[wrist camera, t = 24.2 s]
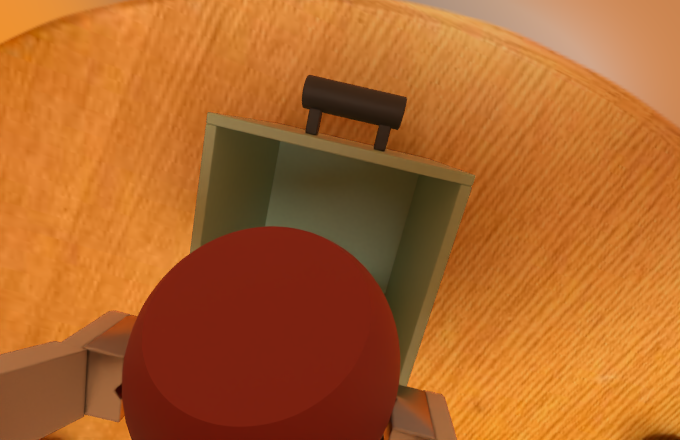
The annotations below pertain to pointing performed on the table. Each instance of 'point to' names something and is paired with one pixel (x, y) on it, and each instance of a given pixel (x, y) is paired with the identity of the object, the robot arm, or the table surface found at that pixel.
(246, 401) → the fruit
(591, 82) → the table surface
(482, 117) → the table surface
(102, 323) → the robot arm
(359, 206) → the bin
